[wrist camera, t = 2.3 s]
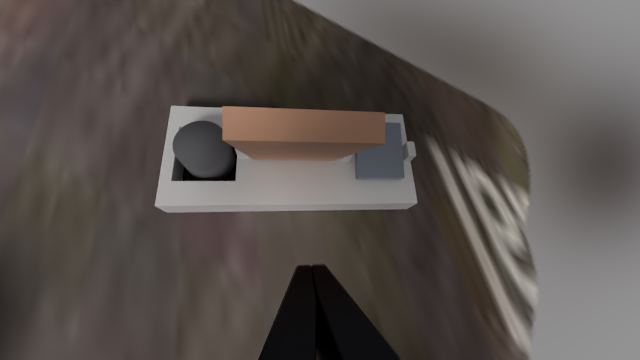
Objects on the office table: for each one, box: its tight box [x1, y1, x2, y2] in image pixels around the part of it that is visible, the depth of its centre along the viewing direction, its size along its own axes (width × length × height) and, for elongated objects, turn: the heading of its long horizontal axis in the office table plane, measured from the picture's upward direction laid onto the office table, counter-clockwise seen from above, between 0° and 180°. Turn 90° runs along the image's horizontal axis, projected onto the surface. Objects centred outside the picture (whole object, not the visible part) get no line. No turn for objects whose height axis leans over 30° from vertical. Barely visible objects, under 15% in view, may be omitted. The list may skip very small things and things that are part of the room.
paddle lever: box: [222, 106, 385, 161], centre depth 15 cm, size 1×6×10 cm, turn 92°
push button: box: [173, 121, 235, 181], centre depth 20 cm, size 4×4×3 cm
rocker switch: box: [355, 122, 405, 180], centre depth 21 cm, size 4×4×1 cm
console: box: [155, 106, 417, 213], centre depth 21 cm, size 8×19×4 cm, turn 92°
